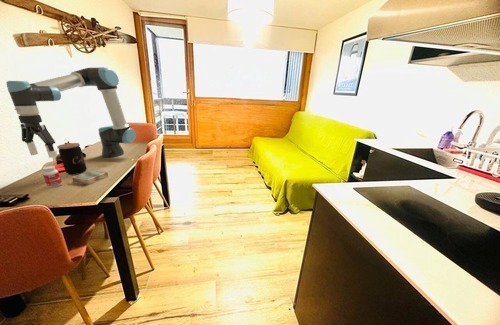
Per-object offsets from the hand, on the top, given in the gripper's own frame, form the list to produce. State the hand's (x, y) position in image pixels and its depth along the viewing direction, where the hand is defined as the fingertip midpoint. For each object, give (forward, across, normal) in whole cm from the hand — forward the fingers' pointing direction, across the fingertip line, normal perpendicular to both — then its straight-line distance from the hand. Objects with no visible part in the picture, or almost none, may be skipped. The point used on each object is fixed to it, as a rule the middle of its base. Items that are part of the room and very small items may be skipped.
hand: (43, 155), depth 105 cm
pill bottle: (+18, 0, 0) cm, 18 cm away
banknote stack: (+18, +11, +12) cm, 24 cm away
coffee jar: (+18, -9, +18) cm, 27 cm away
